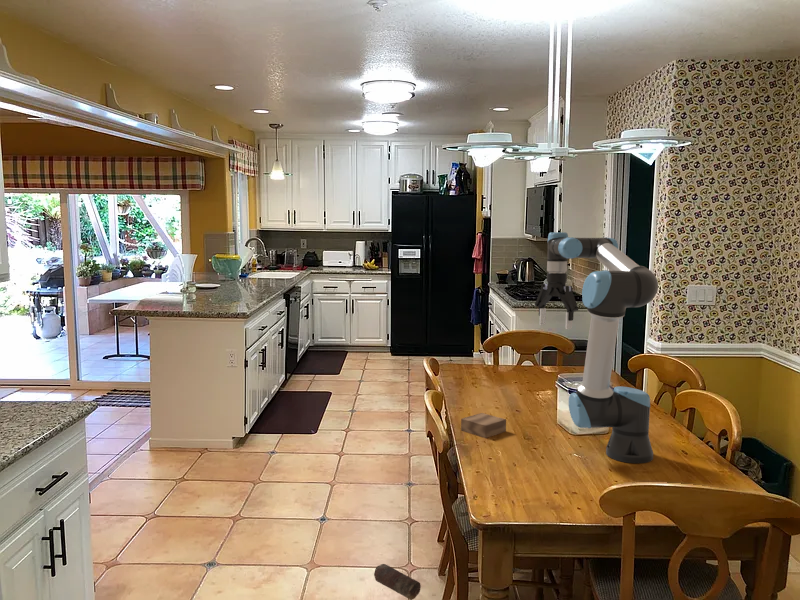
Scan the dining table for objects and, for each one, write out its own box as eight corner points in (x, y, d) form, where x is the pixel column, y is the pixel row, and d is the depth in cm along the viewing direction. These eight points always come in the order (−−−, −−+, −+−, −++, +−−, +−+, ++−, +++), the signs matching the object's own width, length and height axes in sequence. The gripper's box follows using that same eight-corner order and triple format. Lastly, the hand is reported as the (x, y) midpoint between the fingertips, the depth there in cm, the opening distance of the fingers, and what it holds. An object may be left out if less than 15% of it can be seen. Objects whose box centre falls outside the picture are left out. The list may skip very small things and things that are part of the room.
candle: (387, 560, 268) (422, 579, 254) (386, 577, 269) (421, 597, 255) (373, 565, 263) (408, 585, 249) (372, 583, 264) (407, 604, 249)
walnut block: (505, 432, 247) (506, 419, 247) (485, 438, 239) (485, 425, 238) (481, 425, 256) (481, 412, 255) (461, 431, 248) (461, 418, 247)
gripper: (588, 273, 243) (587, 330, 245) (540, 270, 264) (539, 322, 266) (575, 274, 239) (573, 331, 241) (526, 270, 260) (525, 323, 262)
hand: (555, 326), depth 253 cm, fingers open, 13 cm apart
